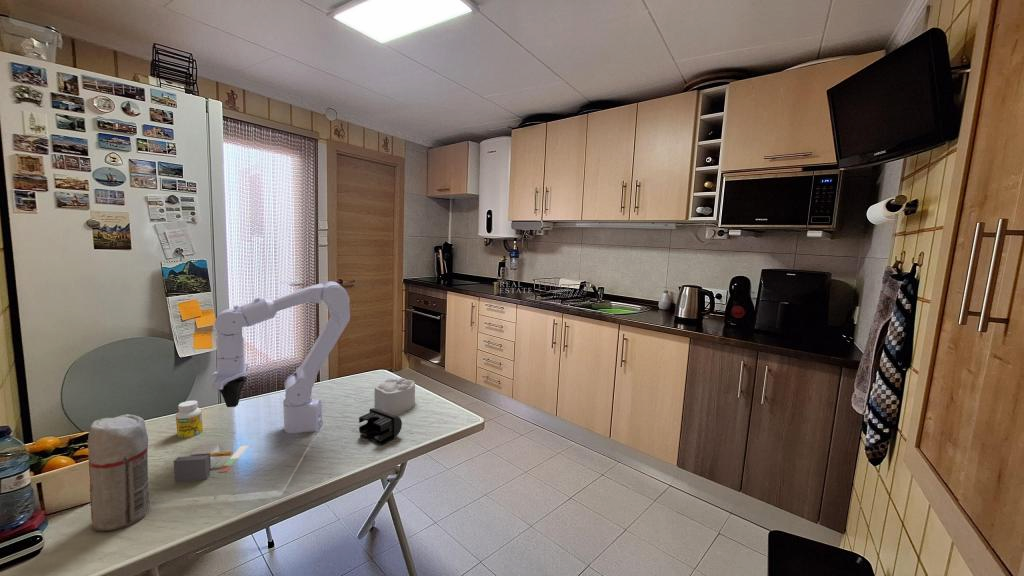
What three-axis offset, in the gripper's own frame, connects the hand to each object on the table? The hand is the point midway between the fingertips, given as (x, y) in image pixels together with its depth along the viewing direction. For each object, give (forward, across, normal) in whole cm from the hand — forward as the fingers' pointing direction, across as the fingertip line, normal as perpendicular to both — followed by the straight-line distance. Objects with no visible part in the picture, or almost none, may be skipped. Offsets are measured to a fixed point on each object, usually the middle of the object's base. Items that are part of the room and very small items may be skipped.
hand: (232, 406), depth 102 cm
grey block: (+9, +12, +1) cm, 15 cm away
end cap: (+10, +1, +37) cm, 39 cm away
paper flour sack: (+11, +27, -8) cm, 30 cm away
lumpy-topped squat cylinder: (+10, -19, +40) cm, 46 cm away
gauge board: (+10, +10, -1) cm, 14 cm away
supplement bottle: (+11, -5, -13) cm, 17 cm away
